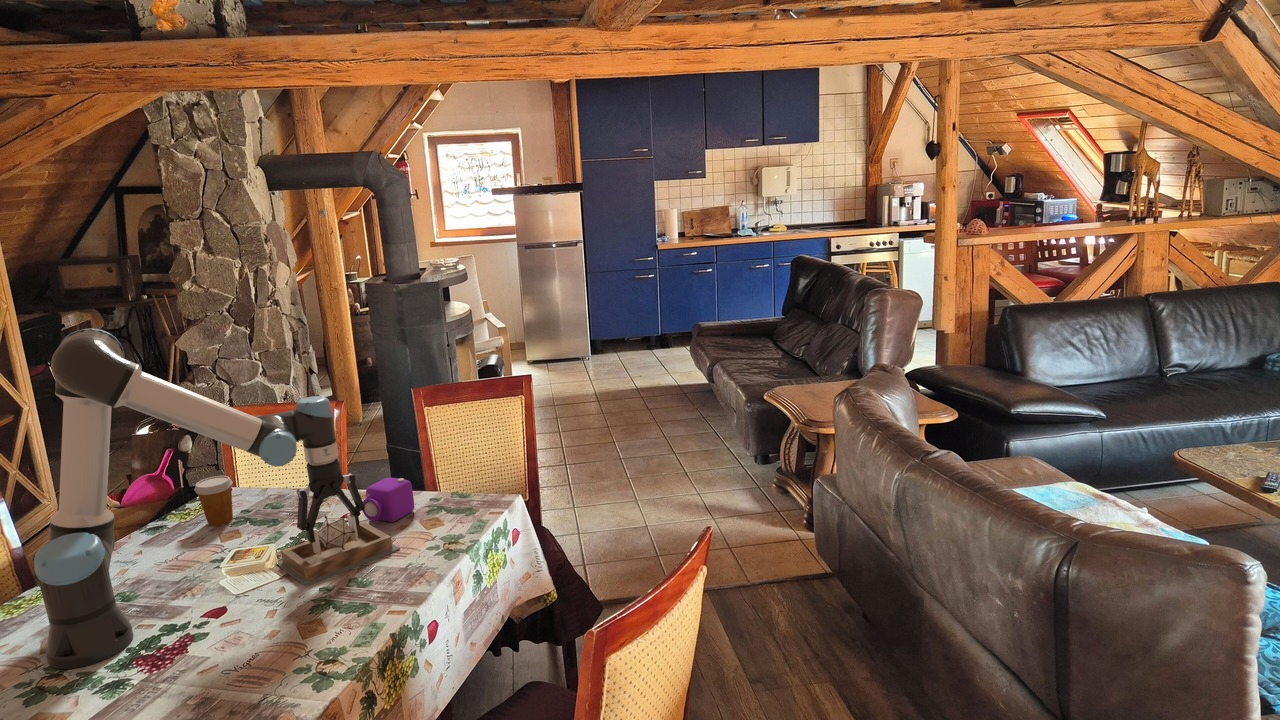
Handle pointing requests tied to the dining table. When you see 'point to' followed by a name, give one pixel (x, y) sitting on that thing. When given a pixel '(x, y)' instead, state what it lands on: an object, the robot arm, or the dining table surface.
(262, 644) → the dining table surface
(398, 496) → the toy camera
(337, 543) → the game die
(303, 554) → the brown wooden tray
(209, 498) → the disposable coffee cup
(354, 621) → the dining table surface
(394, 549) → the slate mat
